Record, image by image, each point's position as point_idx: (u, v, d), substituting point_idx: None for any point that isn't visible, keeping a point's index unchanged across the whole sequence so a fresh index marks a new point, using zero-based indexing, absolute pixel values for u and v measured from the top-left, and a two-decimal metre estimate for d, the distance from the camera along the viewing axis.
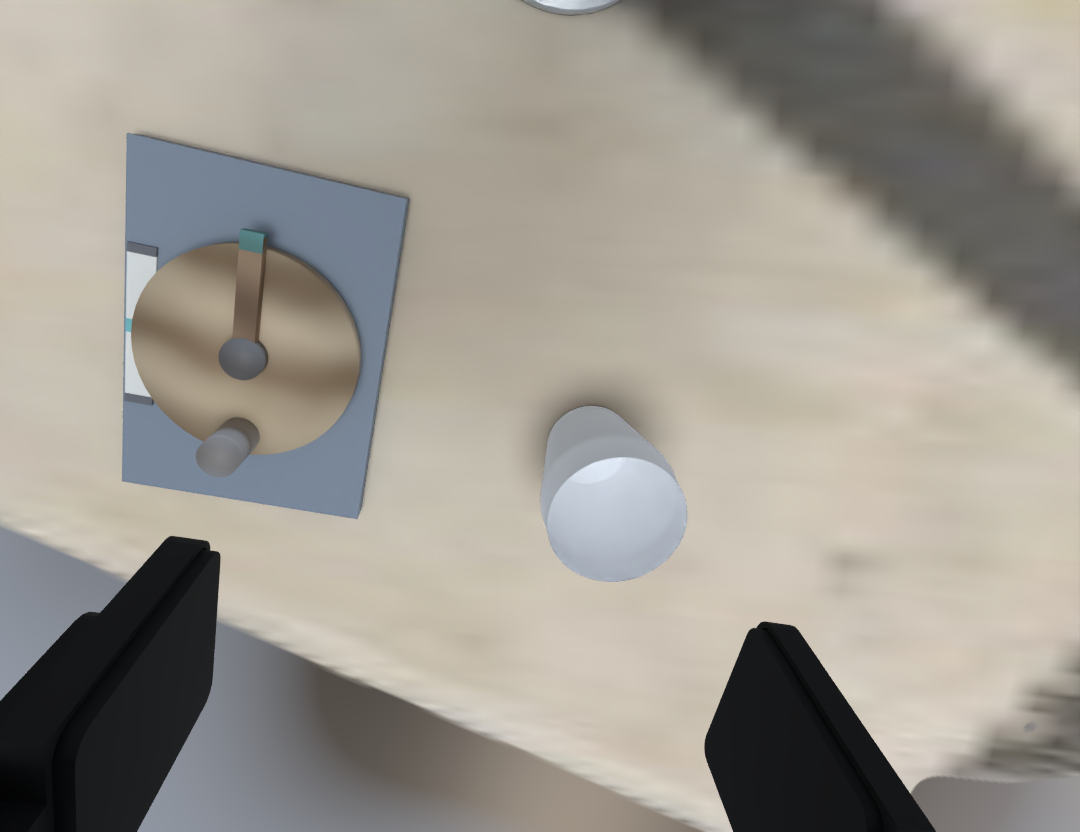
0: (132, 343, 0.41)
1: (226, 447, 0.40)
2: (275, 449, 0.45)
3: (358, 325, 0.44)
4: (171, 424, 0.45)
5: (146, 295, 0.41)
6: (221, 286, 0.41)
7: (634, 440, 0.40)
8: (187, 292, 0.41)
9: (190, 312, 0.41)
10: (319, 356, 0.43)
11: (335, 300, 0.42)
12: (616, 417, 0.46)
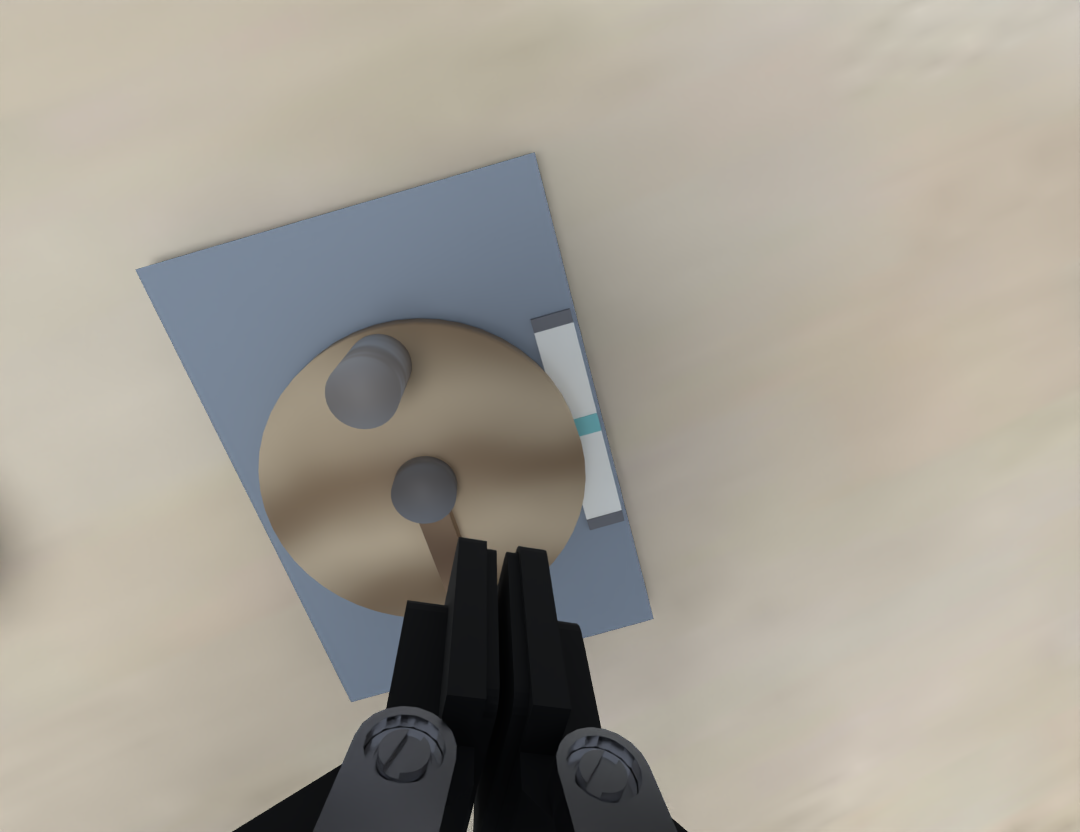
0: (574, 428, 0.28)
1: (358, 421, 0.23)
2: (318, 366, 0.26)
3: None
4: (494, 298, 0.28)
5: (576, 498, 0.29)
6: None
7: None
8: (529, 525, 0.30)
9: (517, 503, 0.29)
10: (334, 530, 0.29)
11: (353, 602, 0.30)
12: None
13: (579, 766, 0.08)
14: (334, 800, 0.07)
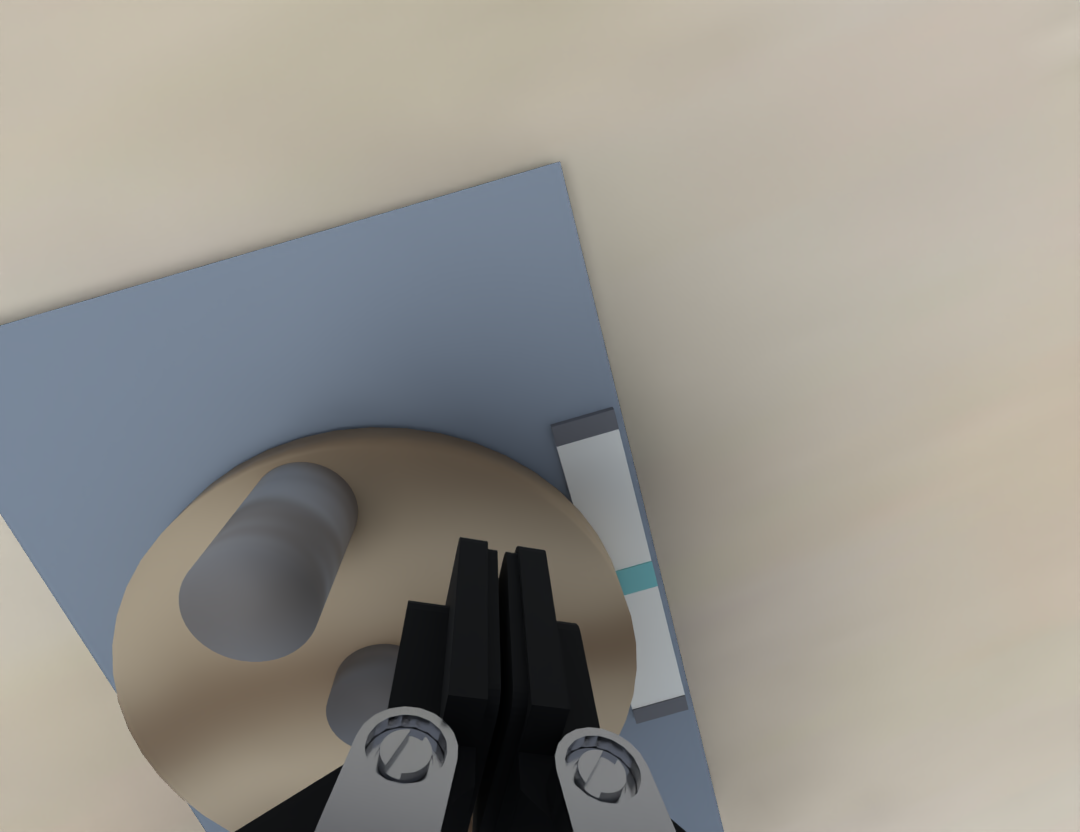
0: (621, 598, 0.18)
1: (244, 650, 0.13)
2: (201, 514, 0.16)
3: None
4: (493, 394, 0.17)
5: (621, 696, 0.19)
6: None
7: None
8: None
9: None
10: (242, 753, 0.18)
11: None
12: None
13: (578, 766, 0.08)
14: (335, 800, 0.07)
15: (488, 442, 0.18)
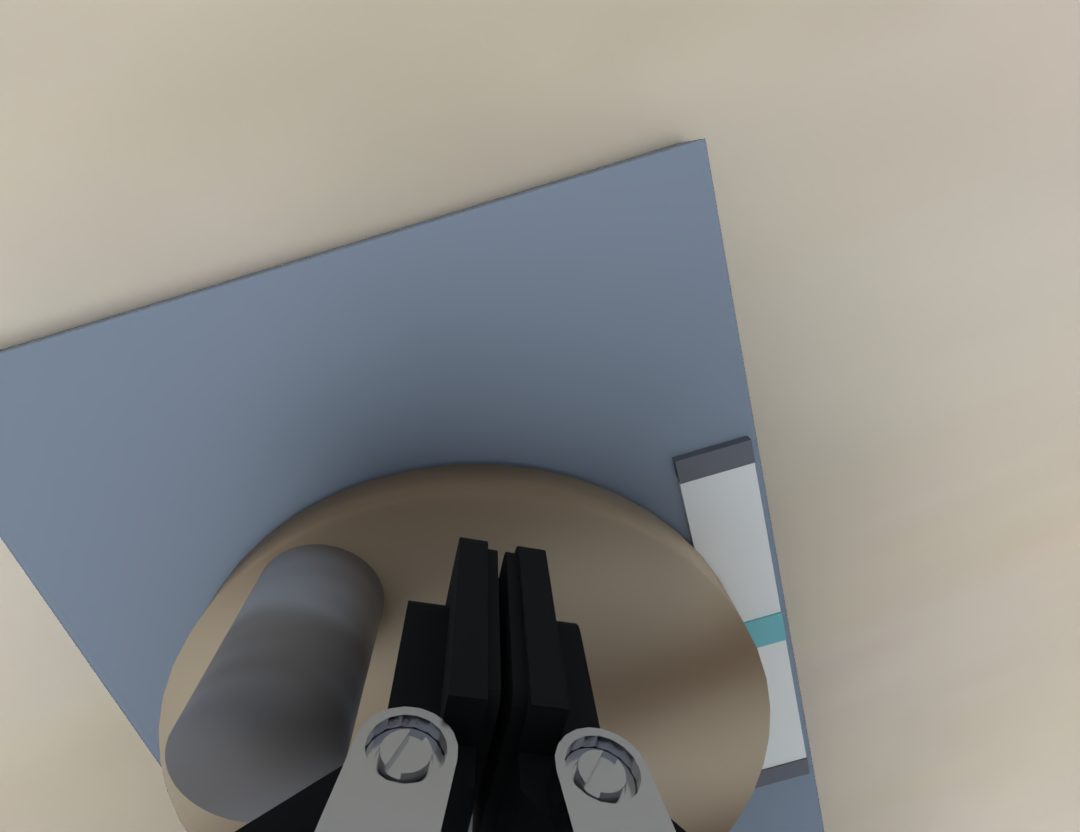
0: (725, 603, 0.14)
1: None
2: (209, 633, 0.13)
3: None
4: (607, 423, 0.14)
5: (756, 713, 0.15)
6: None
7: None
8: (682, 775, 0.16)
9: (650, 749, 0.16)
10: None
11: None
12: None
13: (577, 766, 0.08)
14: (336, 800, 0.07)
15: (598, 479, 0.15)
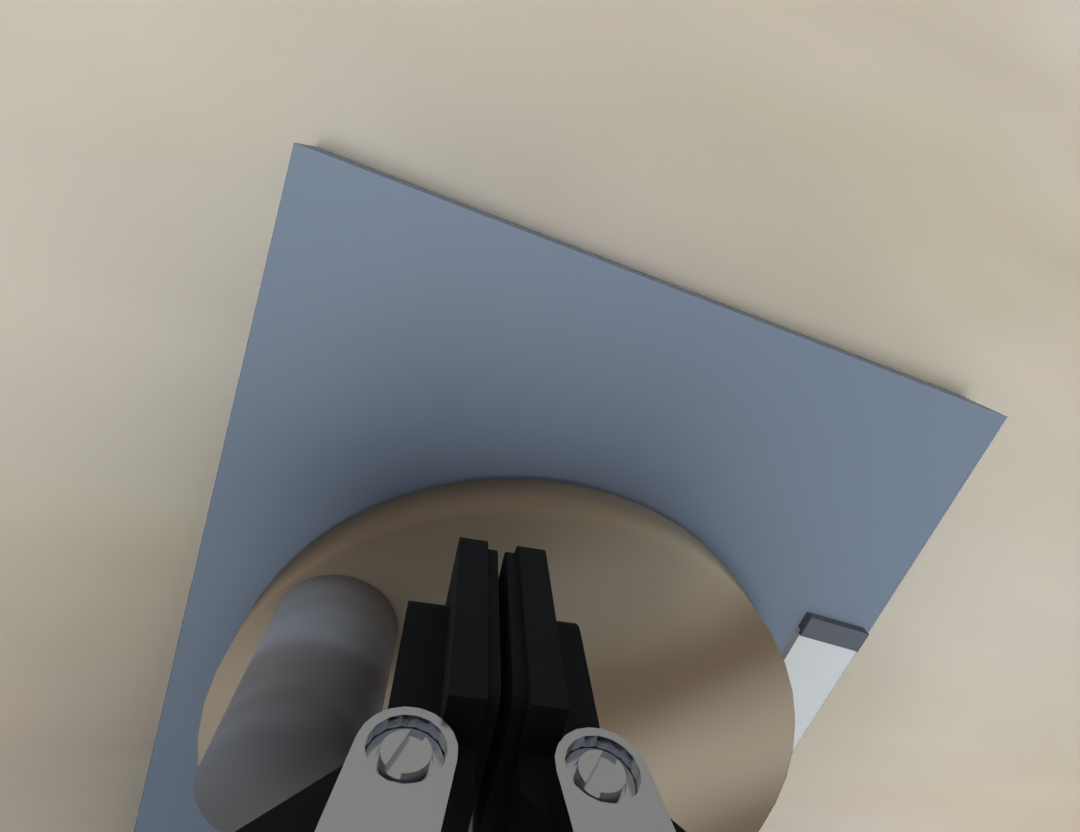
0: (734, 593, 0.14)
1: None
2: (234, 669, 0.14)
3: None
4: (789, 559, 0.16)
5: (779, 698, 0.15)
6: None
7: None
8: (712, 766, 0.16)
9: (678, 743, 0.16)
10: None
11: None
12: None
13: (578, 766, 0.08)
14: (336, 801, 0.07)
15: (747, 594, 0.17)
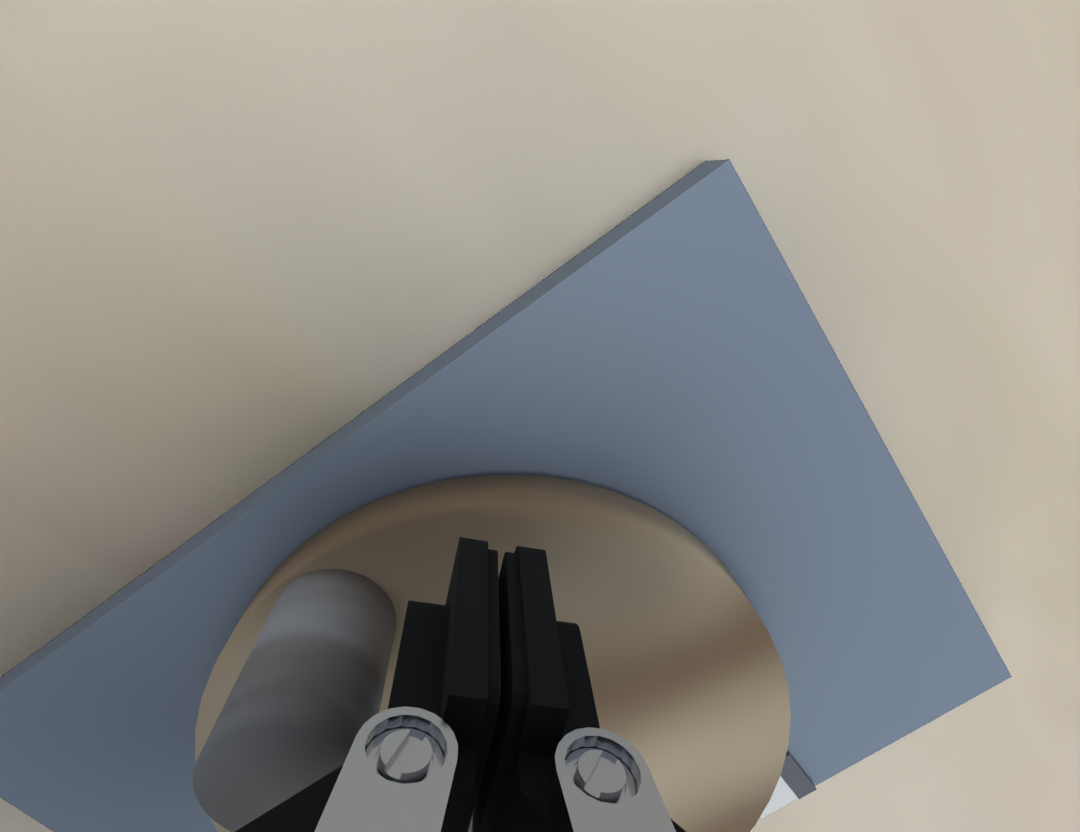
0: (731, 589, 0.14)
1: None
2: (232, 663, 0.14)
3: (240, 612, 0.16)
4: (805, 700, 0.18)
5: (775, 694, 0.16)
6: None
7: None
8: (708, 762, 0.16)
9: (674, 738, 0.16)
10: None
11: None
12: None
13: (578, 766, 0.08)
14: (335, 800, 0.07)
15: None
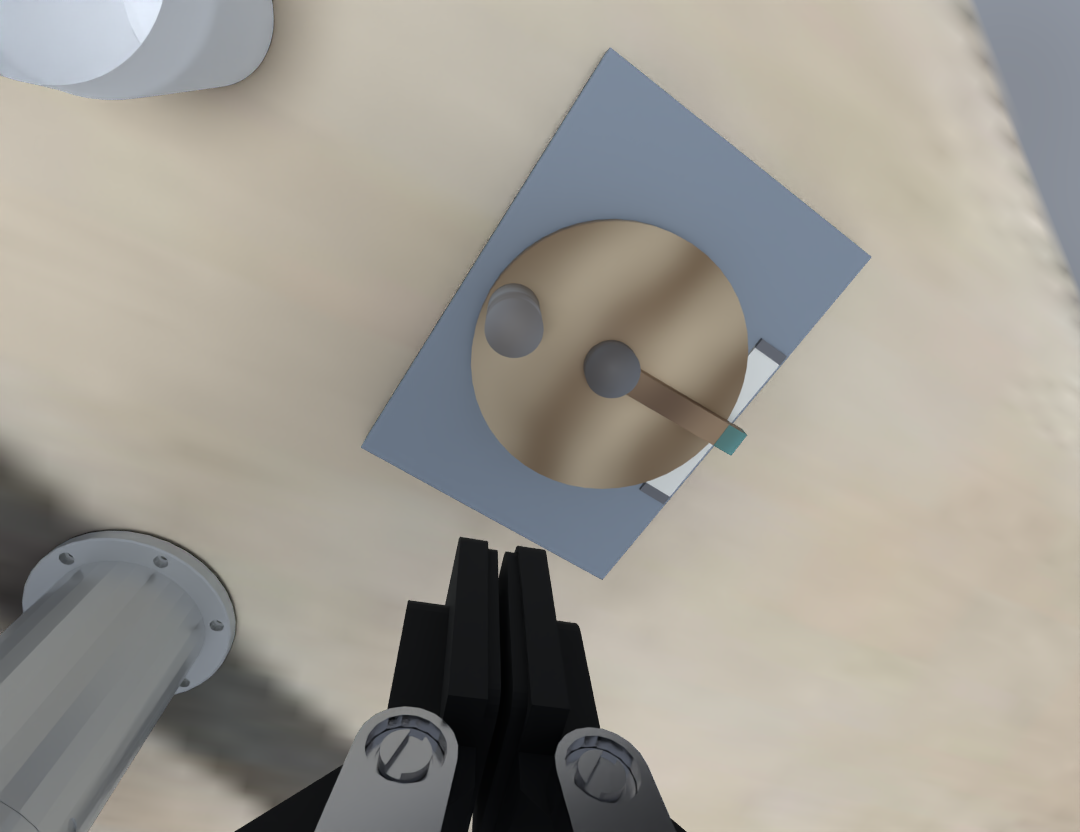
0: (680, 238, 0.31)
1: (525, 349, 0.28)
2: (478, 343, 0.32)
3: (472, 337, 0.34)
4: (759, 305, 0.34)
5: (725, 288, 0.32)
6: (697, 377, 0.33)
7: (12, 65, 0.22)
8: (707, 336, 0.33)
9: (685, 328, 0.32)
10: (577, 444, 0.35)
11: (630, 485, 0.36)
12: (119, 63, 0.27)
13: (578, 766, 0.08)
14: (335, 800, 0.07)
15: None
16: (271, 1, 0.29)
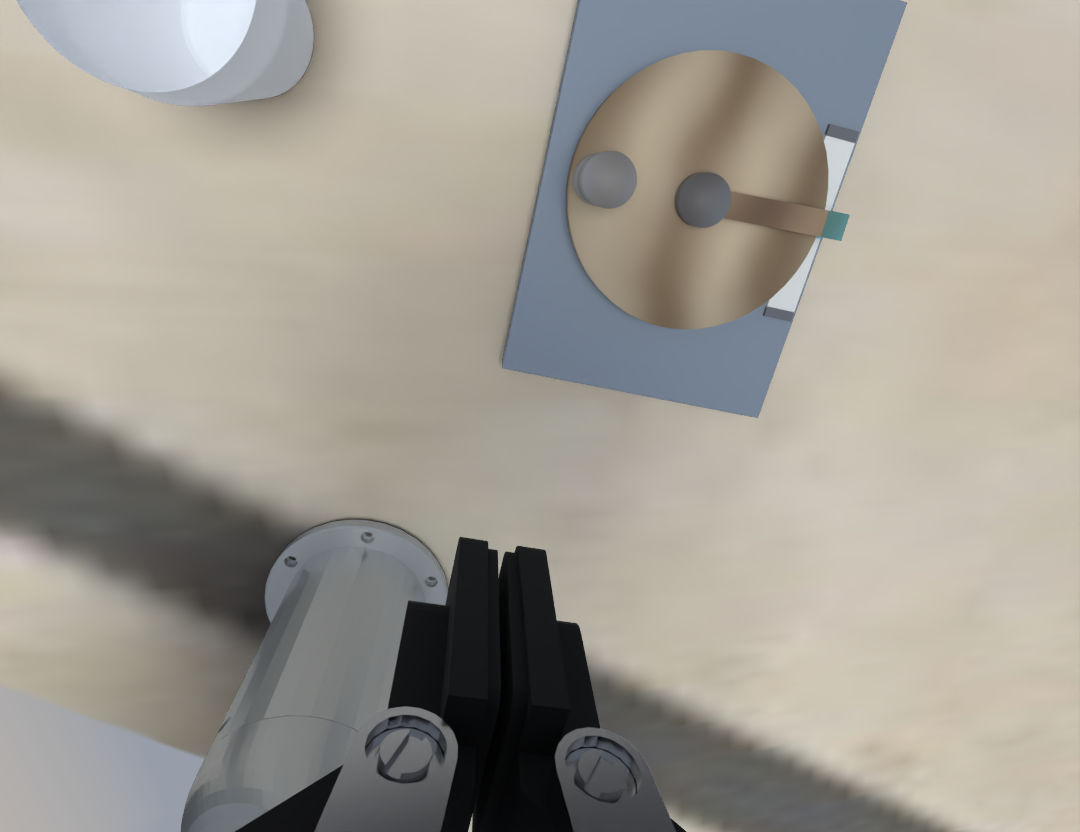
0: (723, 52, 0.32)
1: (625, 194, 0.31)
2: (576, 224, 0.35)
3: (566, 227, 0.37)
4: (816, 93, 0.35)
5: (780, 83, 0.33)
6: (782, 179, 0.35)
7: (150, 98, 0.26)
8: (779, 136, 0.34)
9: (756, 136, 0.34)
10: (694, 287, 0.36)
11: (755, 308, 0.37)
12: None
13: (578, 766, 0.08)
14: (335, 800, 0.07)
15: None
16: None
